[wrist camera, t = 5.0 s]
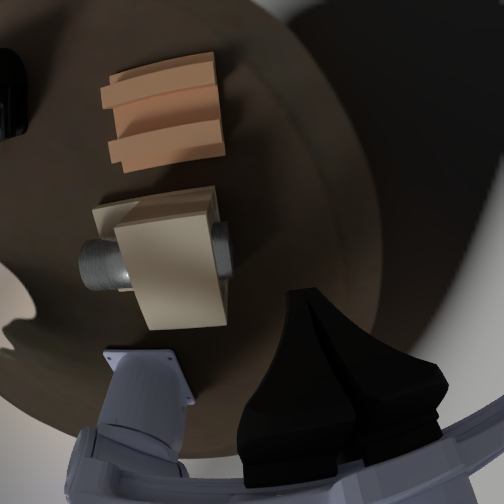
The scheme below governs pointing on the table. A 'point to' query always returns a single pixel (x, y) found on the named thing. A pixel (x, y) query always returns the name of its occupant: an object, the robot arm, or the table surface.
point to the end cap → (12, 95)
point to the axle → (114, 270)
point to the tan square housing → (170, 256)
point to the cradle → (165, 113)
